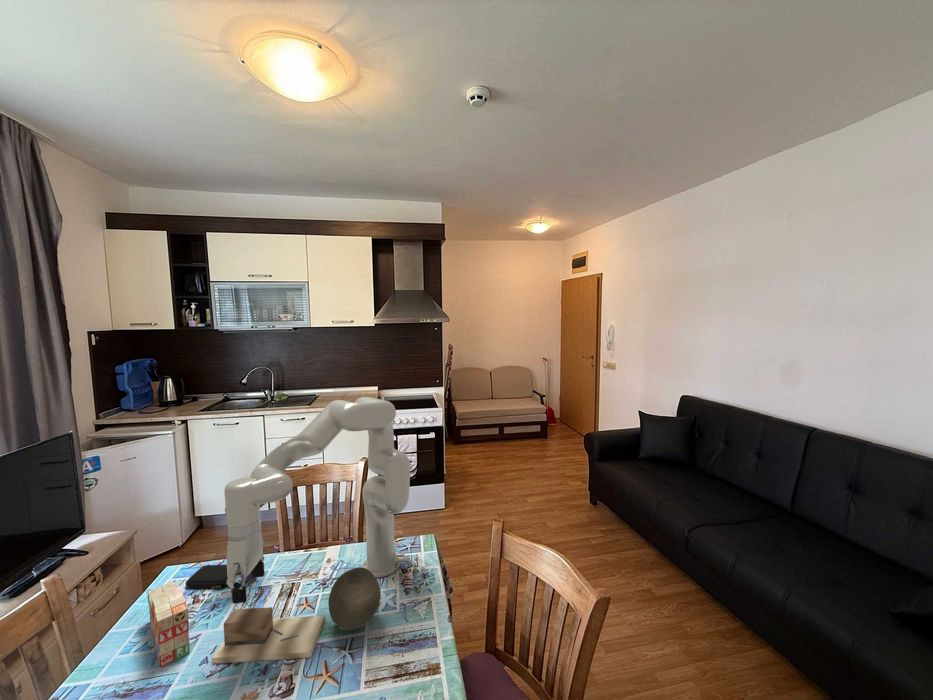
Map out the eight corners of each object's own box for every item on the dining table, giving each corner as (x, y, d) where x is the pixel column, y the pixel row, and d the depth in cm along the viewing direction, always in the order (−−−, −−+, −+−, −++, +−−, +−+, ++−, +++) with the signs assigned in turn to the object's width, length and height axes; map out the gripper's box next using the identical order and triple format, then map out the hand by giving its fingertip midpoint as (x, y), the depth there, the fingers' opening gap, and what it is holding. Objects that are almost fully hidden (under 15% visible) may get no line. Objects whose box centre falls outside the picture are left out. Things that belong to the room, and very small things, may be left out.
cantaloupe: (324, 649, 99) (322, 593, 98) (334, 609, 113) (332, 560, 112) (379, 641, 101) (378, 587, 100) (382, 603, 115) (381, 555, 114)
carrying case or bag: (179, 592, 121) (226, 592, 121) (179, 583, 121) (225, 583, 121) (203, 571, 132) (245, 571, 132) (202, 563, 132) (245, 562, 132)
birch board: (325, 621, 108) (324, 616, 108) (310, 657, 96) (310, 651, 96) (237, 626, 107) (237, 621, 107) (212, 663, 95) (211, 657, 95)
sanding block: (273, 628, 104) (272, 607, 104) (264, 643, 99) (263, 621, 99) (235, 630, 103) (234, 609, 103) (224, 645, 98) (223, 623, 98)
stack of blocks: (149, 622, 109) (146, 580, 108) (176, 610, 113) (174, 570, 113) (159, 668, 94) (156, 620, 93) (190, 653, 98) (188, 607, 98)
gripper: (246, 511, 108) (251, 568, 109) (209, 547, 91) (215, 615, 92) (273, 509, 108) (277, 566, 110) (242, 545, 91) (247, 612, 93)
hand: (249, 588), depth 101 cm, fingers open, 9 cm apart
